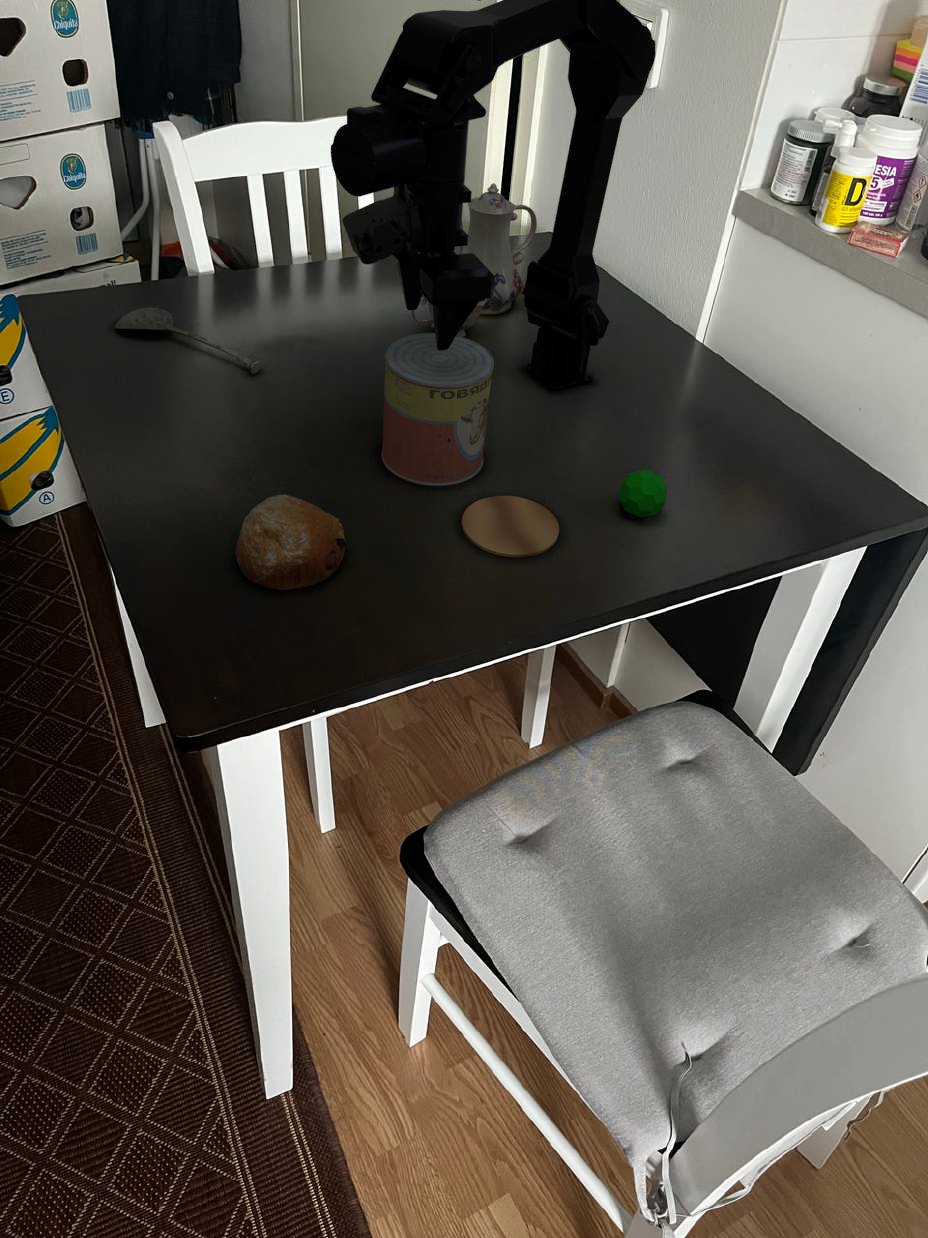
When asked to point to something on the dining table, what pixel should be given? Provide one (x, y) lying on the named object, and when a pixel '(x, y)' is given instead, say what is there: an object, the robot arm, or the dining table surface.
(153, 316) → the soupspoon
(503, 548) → the coaster
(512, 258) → the chinaware
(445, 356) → the canned food
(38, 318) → the dining table surface
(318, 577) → the bread roll
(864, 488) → the dining table surface
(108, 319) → the dining table surface
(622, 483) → the polyhedron
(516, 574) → the dining table surface
